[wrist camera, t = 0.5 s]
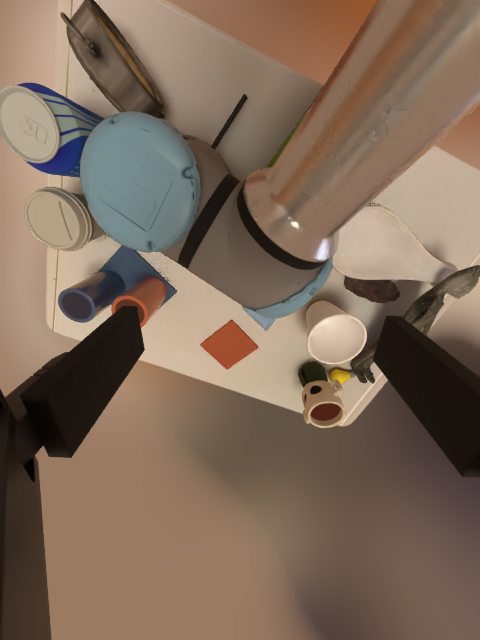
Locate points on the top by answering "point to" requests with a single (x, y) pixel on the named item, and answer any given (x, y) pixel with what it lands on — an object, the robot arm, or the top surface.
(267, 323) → the spotlight
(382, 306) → the top surface
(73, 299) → the blue tumbler
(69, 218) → the coffee cup
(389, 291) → the stone
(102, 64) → the alarm clock
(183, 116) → the top surface
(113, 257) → the blue mat
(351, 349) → the cup
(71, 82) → the top surface
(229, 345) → the terracotta mat
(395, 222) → the spoon rest
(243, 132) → the top surface
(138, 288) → the terracotta tumbler
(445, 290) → the statue
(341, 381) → the light bulb
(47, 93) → the beer can
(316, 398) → the character mug
